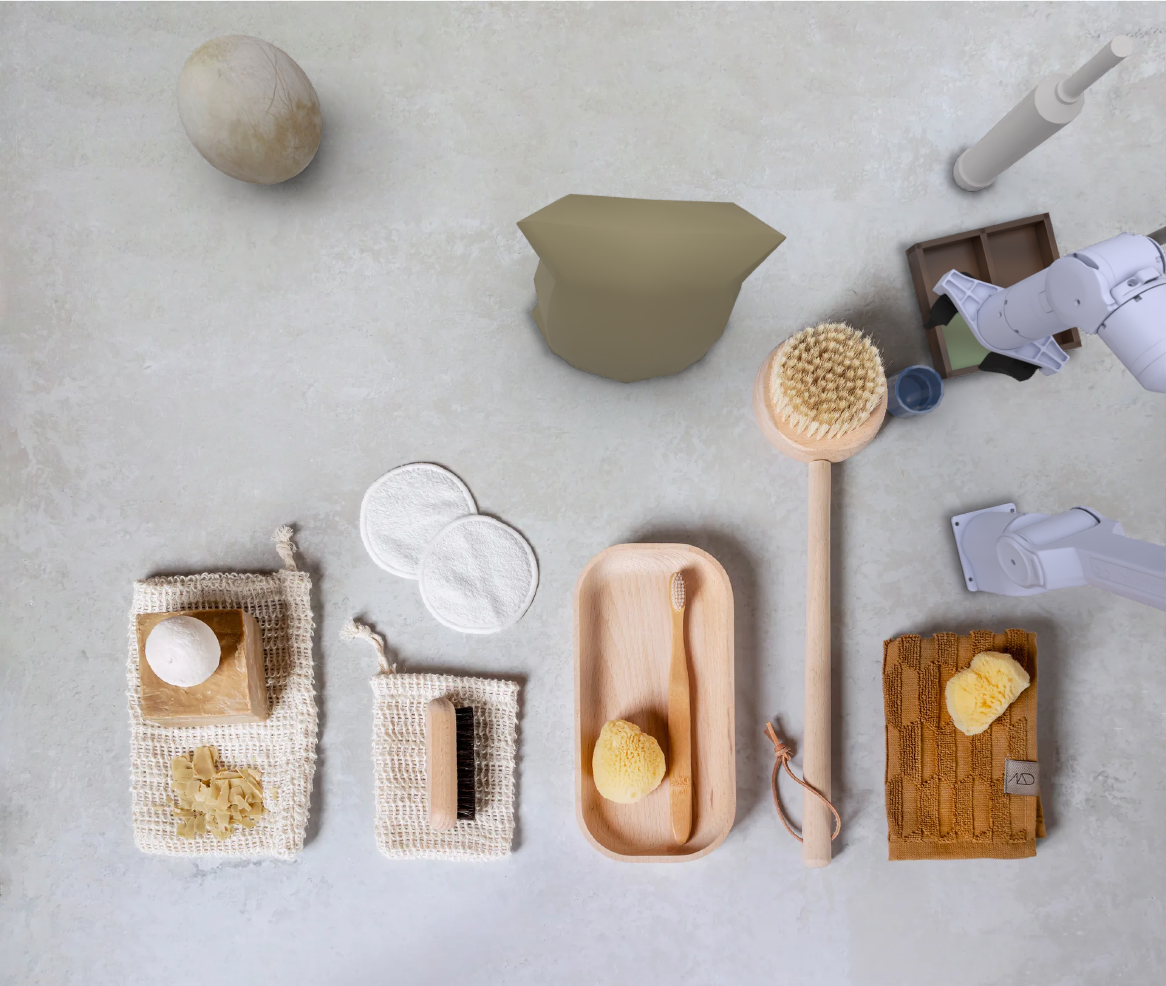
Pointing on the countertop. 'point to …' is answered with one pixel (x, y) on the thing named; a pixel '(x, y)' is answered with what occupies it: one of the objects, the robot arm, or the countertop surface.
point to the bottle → (1035, 119)
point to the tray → (990, 259)
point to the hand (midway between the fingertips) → (957, 341)
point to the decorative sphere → (249, 109)
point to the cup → (914, 391)
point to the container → (640, 279)
